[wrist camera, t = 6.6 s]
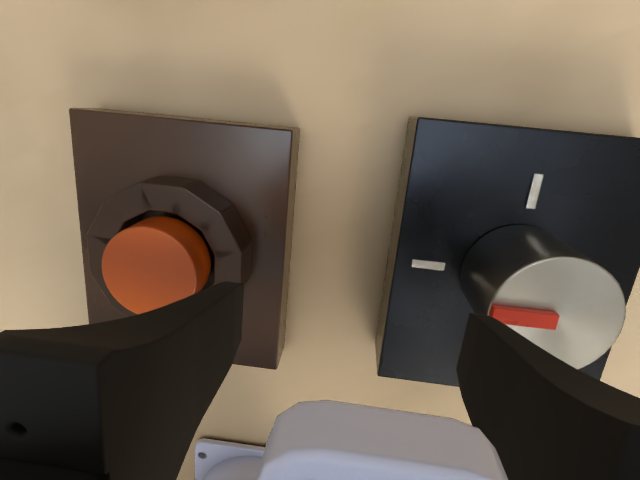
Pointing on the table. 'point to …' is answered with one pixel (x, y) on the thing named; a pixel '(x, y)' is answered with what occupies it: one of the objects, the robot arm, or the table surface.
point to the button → (155, 264)
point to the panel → (495, 225)
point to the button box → (193, 205)
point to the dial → (544, 292)
